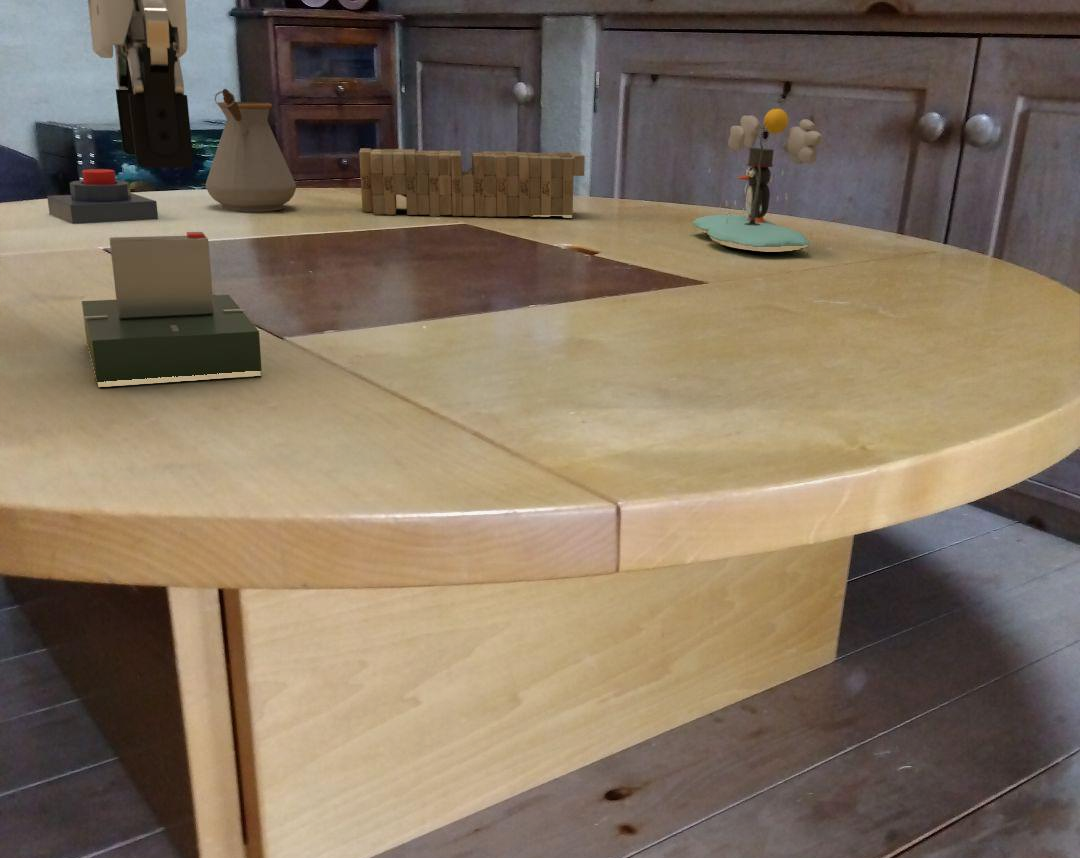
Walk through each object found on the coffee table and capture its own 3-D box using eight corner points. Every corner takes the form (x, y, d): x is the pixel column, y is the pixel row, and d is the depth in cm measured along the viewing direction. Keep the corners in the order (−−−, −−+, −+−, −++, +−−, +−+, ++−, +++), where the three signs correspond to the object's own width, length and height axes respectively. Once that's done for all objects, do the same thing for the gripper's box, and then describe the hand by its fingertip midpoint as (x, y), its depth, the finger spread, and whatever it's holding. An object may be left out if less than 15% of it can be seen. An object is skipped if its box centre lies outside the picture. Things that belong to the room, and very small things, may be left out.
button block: (72, 224, 129) (68, 188, 127) (49, 214, 135) (44, 180, 134) (158, 219, 135) (155, 185, 133) (132, 210, 141) (128, 177, 139)
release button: (89, 188, 131) (87, 172, 130) (79, 184, 134) (77, 169, 133) (120, 187, 133) (118, 171, 133) (110, 183, 136) (108, 168, 135)
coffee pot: (215, 201, 152) (206, 82, 146) (302, 203, 153) (296, 85, 147) (183, 224, 132) (171, 87, 126) (282, 226, 133) (275, 90, 127)
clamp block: (96, 388, 69) (89, 337, 68) (85, 343, 79) (79, 298, 78) (263, 376, 73) (260, 328, 72) (233, 335, 83) (230, 292, 82)
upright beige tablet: (119, 319, 73) (110, 236, 71) (118, 314, 74) (108, 233, 72) (214, 314, 75) (208, 234, 73) (211, 310, 76) (204, 231, 74)
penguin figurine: (685, 231, 142) (696, 102, 136) (767, 233, 143) (781, 105, 137) (726, 258, 123) (740, 110, 117) (819, 260, 125) (839, 114, 118)
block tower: (361, 221, 145) (584, 219, 148) (357, 153, 142) (586, 151, 145) (364, 213, 153) (576, 210, 155) (360, 147, 149) (577, 146, 152)
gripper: (47, -140, 70) (85, 150, 77) (56, -190, 55) (102, 174, 62) (172, -130, 73) (199, 149, 79) (212, -175, 58) (240, 172, 65)
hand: (156, 160), depth 71 cm, fingers open, 9 cm apart
